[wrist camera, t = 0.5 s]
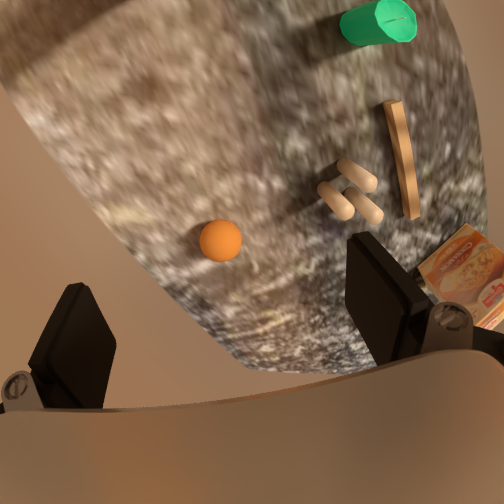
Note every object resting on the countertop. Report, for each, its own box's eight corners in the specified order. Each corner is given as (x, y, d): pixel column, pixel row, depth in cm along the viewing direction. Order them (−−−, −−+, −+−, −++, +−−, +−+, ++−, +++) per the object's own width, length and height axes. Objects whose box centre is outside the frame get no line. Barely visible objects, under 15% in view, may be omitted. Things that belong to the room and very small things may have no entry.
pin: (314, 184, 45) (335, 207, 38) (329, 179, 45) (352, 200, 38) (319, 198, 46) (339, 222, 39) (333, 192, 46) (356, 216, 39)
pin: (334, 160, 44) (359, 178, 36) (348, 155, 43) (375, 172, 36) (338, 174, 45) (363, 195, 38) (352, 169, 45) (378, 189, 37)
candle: (365, 54, 35) (413, 52, 25) (332, 30, 33) (373, 17, 23) (383, 26, 33) (432, 18, 23) (351, 1, 31) (395, -16, 21)
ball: (192, 222, 46) (191, 242, 41) (230, 206, 45) (233, 224, 40) (210, 254, 49) (210, 276, 44) (245, 239, 49) (250, 260, 43)
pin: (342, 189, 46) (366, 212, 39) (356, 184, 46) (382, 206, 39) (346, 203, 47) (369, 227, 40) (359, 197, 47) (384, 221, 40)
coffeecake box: (466, 221, 53) (528, 273, 36) (472, 242, 56) (528, 294, 40) (415, 266, 57) (470, 331, 40) (425, 285, 60) (474, 347, 44)
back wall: (382, 102, 39) (390, 104, 37) (392, 99, 39) (401, 101, 37) (403, 213, 50) (411, 220, 48) (412, 210, 50) (420, 216, 48)
